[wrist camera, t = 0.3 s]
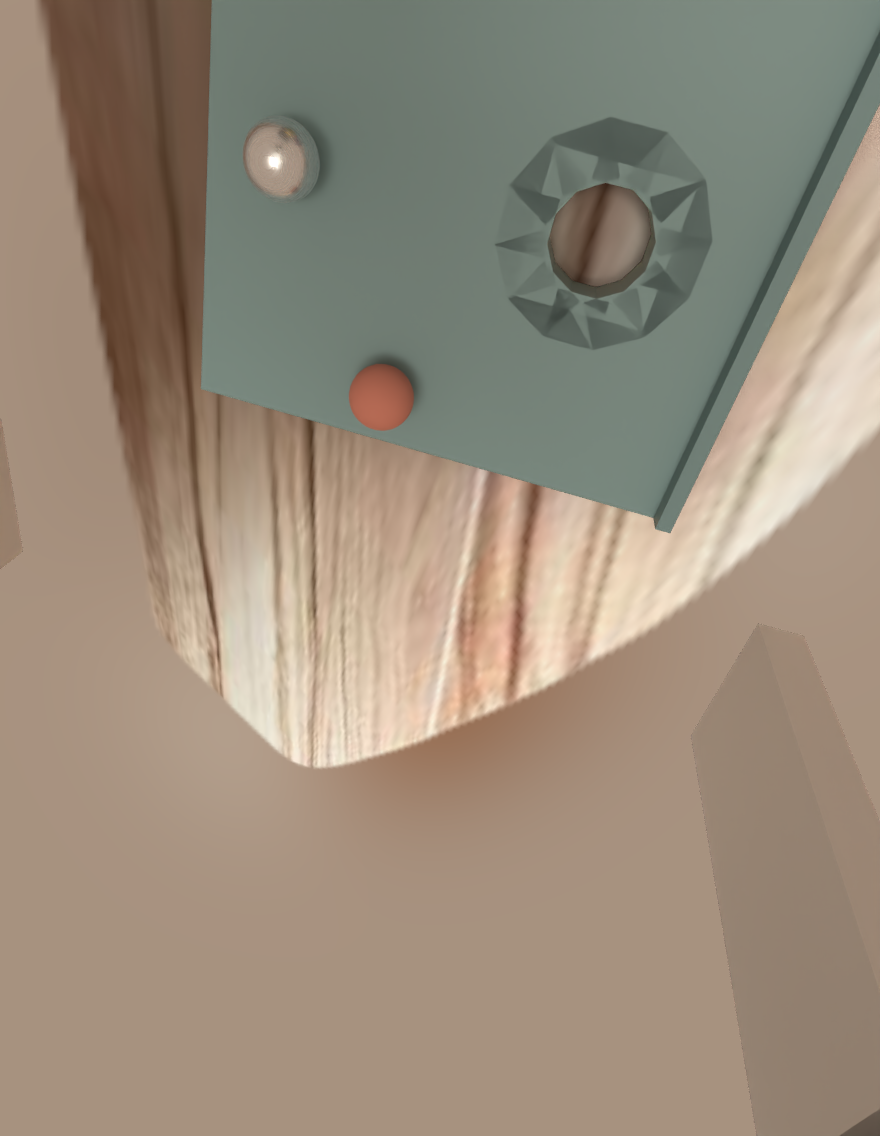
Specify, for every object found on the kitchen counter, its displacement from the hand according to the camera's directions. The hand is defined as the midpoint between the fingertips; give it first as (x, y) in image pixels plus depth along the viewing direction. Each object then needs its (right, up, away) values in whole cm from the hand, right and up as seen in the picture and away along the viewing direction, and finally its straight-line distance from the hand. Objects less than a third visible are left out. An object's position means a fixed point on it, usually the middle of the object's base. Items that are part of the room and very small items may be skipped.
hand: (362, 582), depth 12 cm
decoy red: (-2, +9, +22) cm, 24 cm away
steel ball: (-5, +18, +17) cm, 25 cm away
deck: (+4, +17, +21) cm, 27 cm away
